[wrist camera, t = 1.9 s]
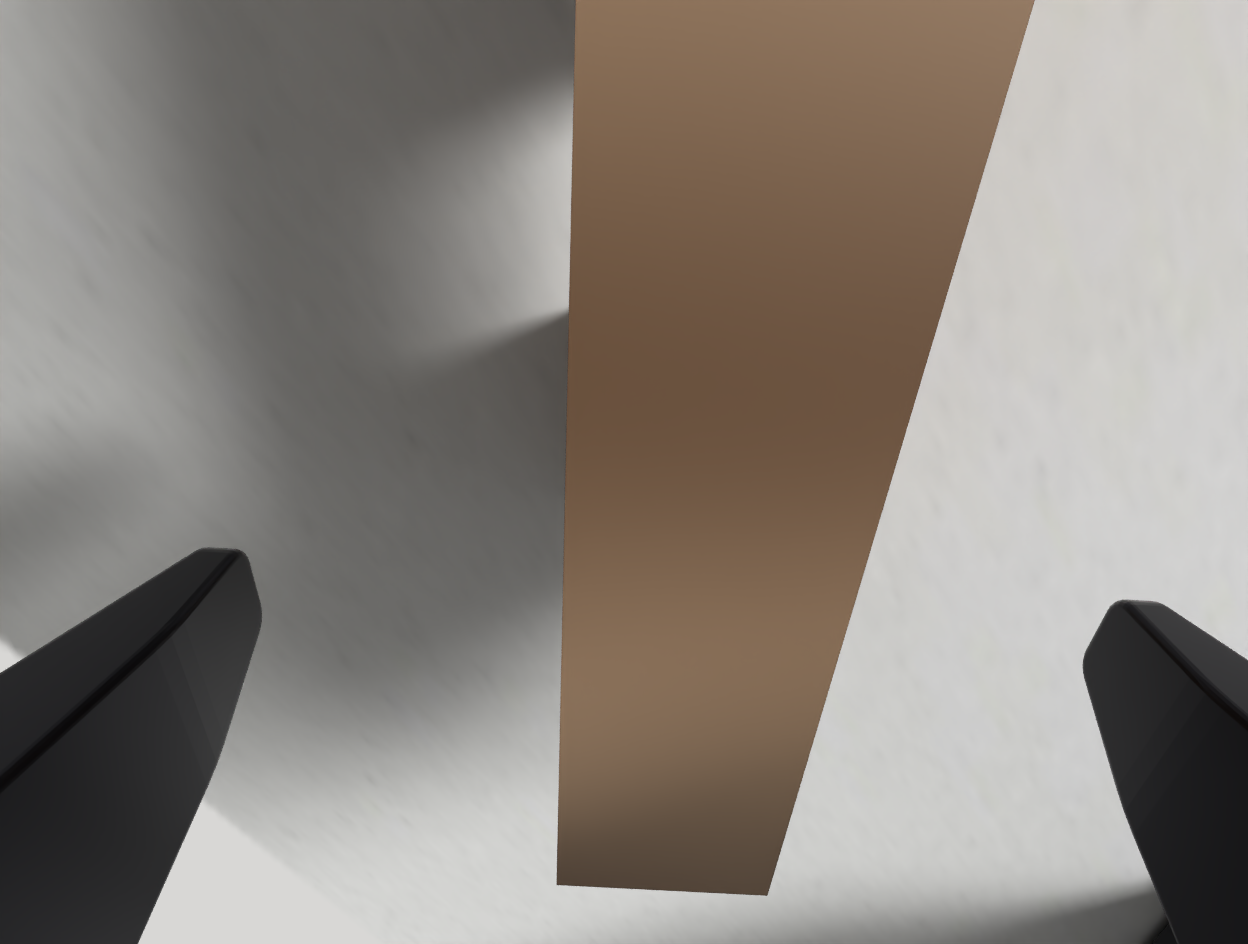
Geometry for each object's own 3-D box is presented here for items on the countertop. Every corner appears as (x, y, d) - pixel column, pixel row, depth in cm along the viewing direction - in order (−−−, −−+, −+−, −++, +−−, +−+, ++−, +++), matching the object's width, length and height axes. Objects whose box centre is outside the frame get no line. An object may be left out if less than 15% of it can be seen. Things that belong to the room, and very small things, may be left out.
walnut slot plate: (720, 509, 13) (767, 895, 8) (590, 501, 13) (557, 885, 8) (866, -421, 7) (1369, -1135, 2) (631, -439, 7) (604, -1212, 2)
